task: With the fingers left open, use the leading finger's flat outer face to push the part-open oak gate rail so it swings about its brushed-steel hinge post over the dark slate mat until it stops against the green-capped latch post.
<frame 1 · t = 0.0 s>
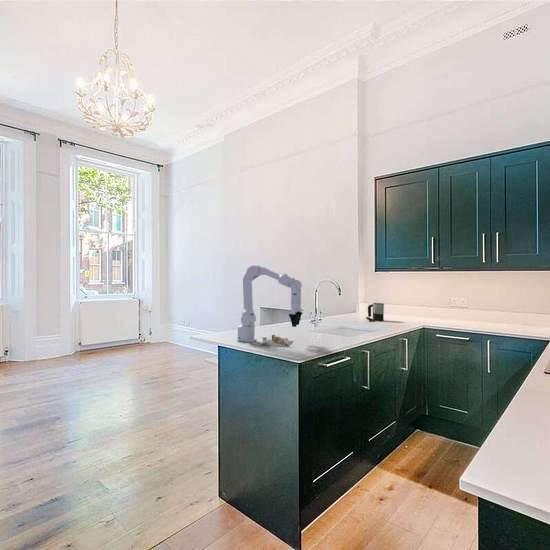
hand: (295, 325, 199), 10 cm above the counter, fingers open, 7 cm apart
gate posts: (285, 345, 194), resting on mat
mat: (277, 343, 199), on the counter
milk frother: (374, 321, 298), on the counter
gate: (278, 339, 199), point 2 cm above the counter, hinge at -40.0°
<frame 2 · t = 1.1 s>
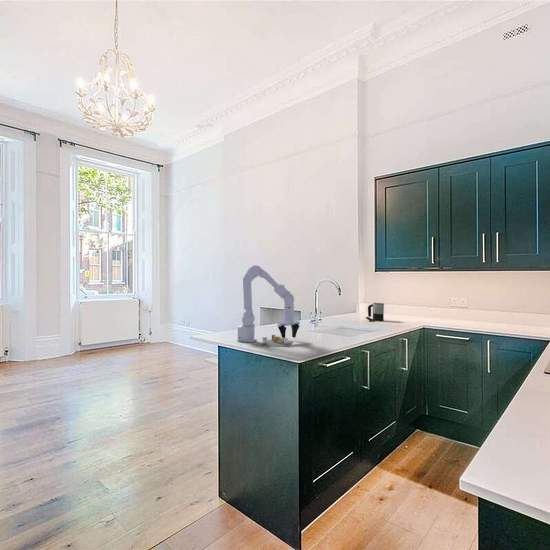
hand: (288, 337, 205), 2 cm above the counter, fingers open, 7 cm apart
nothing on the counter moved.
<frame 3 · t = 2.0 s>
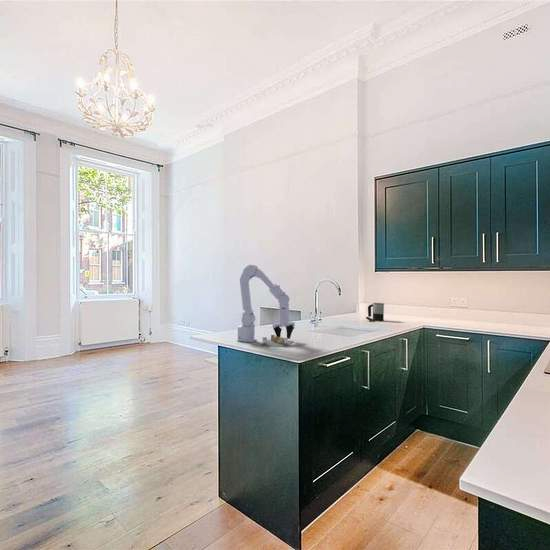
hand: (283, 339, 203), 2 cm above the counter, fingers open, 7 cm apart
gate: (277, 339, 199), point 2 cm above the counter, hinge at -37.8°, touching gripper
everything else where it was.
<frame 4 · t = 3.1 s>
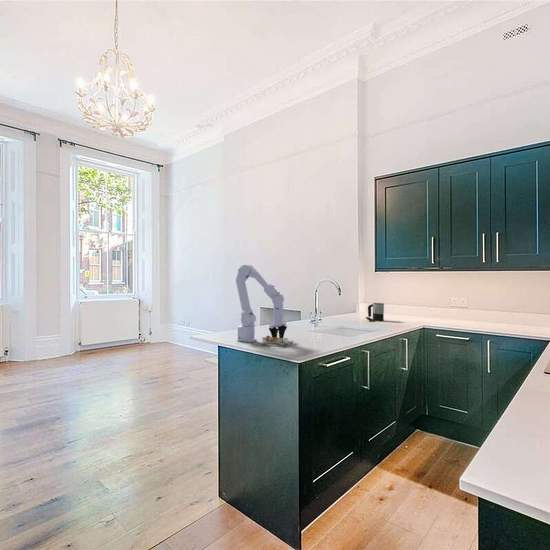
hand: (277, 339, 202), 2 cm above the counter, fingers open, 6 cm apart
gate: (274, 339, 197), point 2 cm above the counter, hinge at -18.6°, touching gripper
everything else where it was.
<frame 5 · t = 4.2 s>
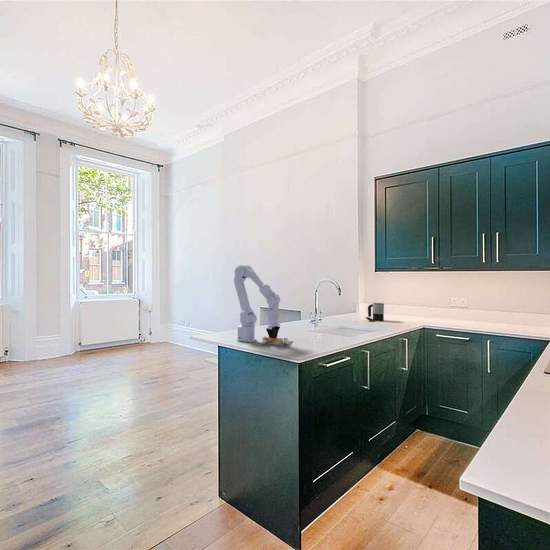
hand: (273, 340, 200), 2 cm above the counter, fingers open, 5 cm apart
gate: (273, 340, 195), point 2 cm above the counter, hinge at 0.0°, touching gate posts, gripper
everything else where it was.
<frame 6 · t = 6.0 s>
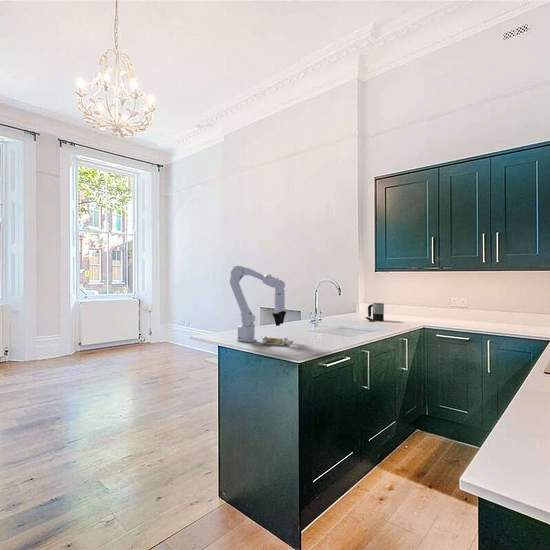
hand: (279, 324, 204), 10 cm above the counter, fingers open, 7 cm apart
gate: (273, 340, 195), point 2 cm above the counter, hinge at 0.0°, touching gate posts
everything else where it was.
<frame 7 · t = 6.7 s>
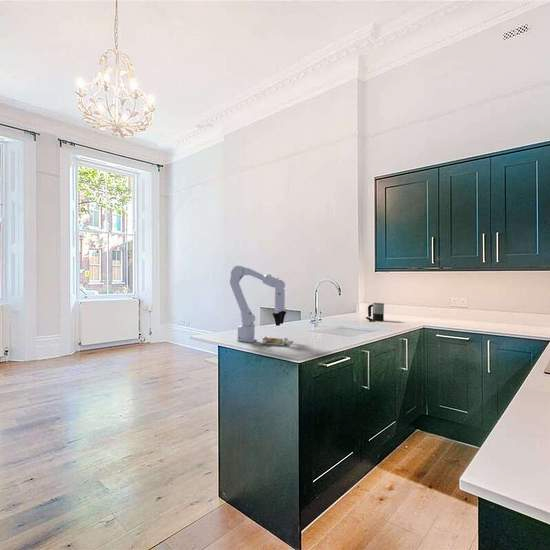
hand: (279, 324, 204), 10 cm above the counter, fingers open, 7 cm apart
nothing on the counter moved.
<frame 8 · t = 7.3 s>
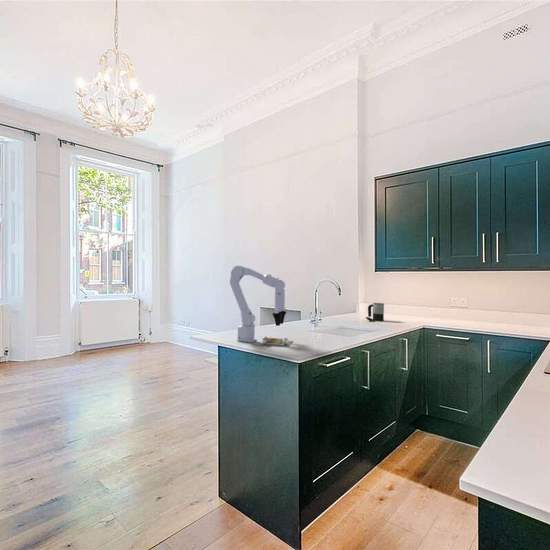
hand: (279, 324, 204), 10 cm above the counter, fingers open, 7 cm apart
nothing on the counter moved.
at the end: gate at +0° (first picture: -40°) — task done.
